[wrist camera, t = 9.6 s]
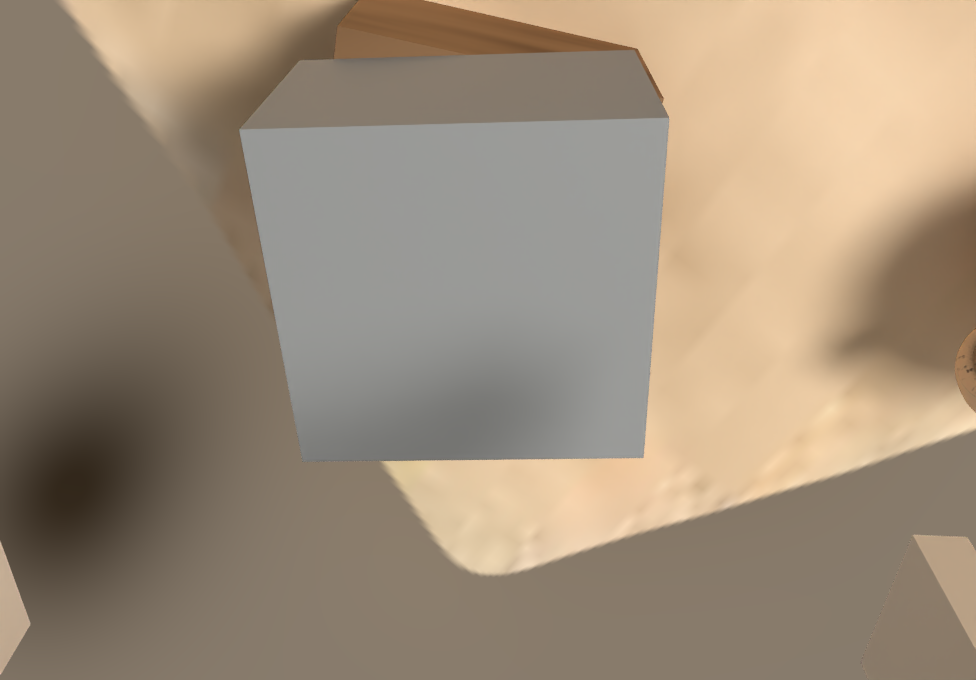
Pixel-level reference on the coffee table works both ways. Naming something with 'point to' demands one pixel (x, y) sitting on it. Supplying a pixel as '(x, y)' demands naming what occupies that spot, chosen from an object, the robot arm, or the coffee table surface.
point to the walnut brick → (449, 33)
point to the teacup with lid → (967, 369)
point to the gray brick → (463, 252)
